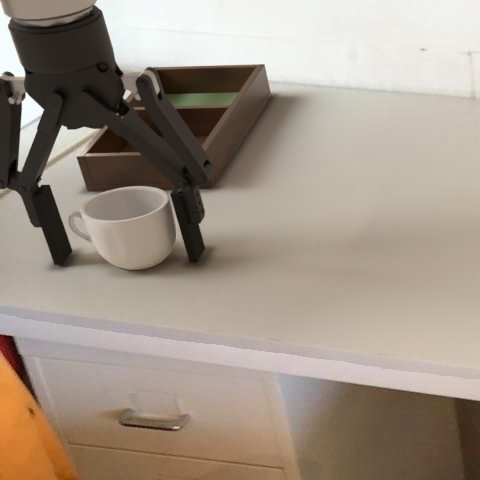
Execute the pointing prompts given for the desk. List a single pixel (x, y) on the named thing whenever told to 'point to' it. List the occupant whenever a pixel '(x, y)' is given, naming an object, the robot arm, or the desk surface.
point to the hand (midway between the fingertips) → (130, 257)
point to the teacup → (129, 226)
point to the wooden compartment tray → (194, 115)
